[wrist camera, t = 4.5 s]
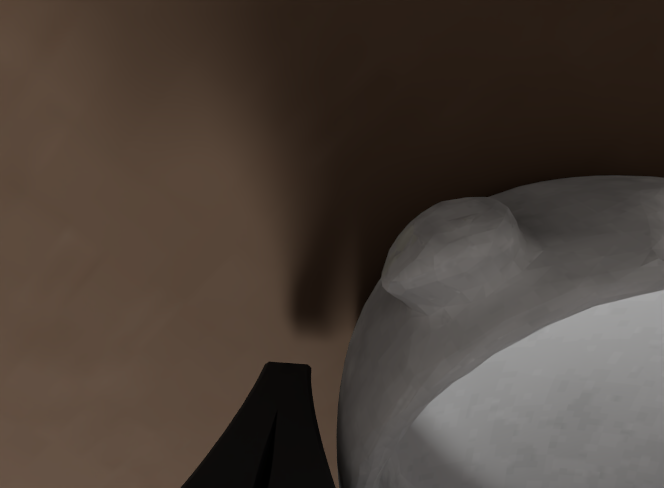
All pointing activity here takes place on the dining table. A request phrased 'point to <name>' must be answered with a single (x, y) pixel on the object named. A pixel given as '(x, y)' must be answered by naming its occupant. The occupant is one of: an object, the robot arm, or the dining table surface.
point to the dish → (514, 344)
